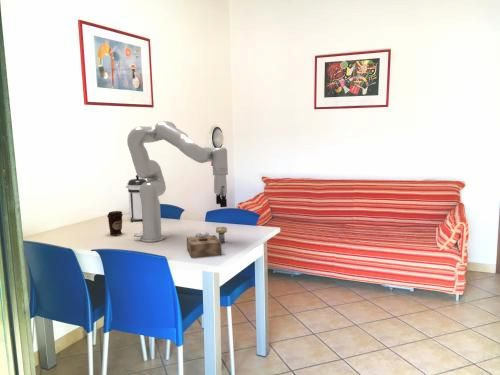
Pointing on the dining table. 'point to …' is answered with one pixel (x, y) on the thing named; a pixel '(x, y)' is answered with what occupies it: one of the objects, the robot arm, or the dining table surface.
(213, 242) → the pin block
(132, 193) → the coffee press
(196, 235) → the adjustable wrench
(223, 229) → the pin
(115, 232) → the coffee cup
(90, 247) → the dining table surface
